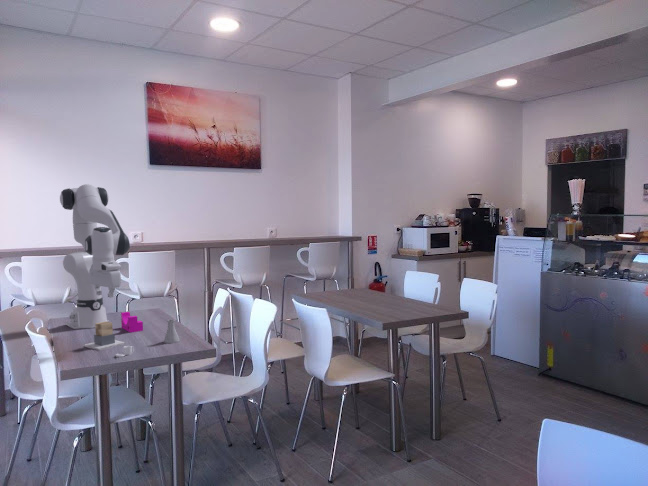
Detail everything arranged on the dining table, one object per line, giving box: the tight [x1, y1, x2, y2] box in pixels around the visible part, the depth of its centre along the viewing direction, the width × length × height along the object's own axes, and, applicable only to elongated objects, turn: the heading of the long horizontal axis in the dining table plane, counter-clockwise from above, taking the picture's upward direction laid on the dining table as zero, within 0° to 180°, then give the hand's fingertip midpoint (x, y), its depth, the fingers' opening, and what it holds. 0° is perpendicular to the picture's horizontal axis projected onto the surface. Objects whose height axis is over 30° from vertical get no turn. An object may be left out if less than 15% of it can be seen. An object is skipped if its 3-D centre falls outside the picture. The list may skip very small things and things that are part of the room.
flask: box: [163, 319, 181, 344], centre depth 229 cm, size 7×7×10 cm
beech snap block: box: [94, 321, 114, 336], centre depth 225 cm, size 5×5×5 cm
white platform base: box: [83, 333, 126, 351], centre depth 225 cm, size 12×12×5 cm
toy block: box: [120, 311, 144, 334], centre depth 256 cm, size 15×6×8 cm, turn 36°
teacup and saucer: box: [115, 345, 135, 358], centre depth 209 cm, size 9×8×4 cm
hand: (104, 296), depth 226 cm, fingers open, 8 cm apart
